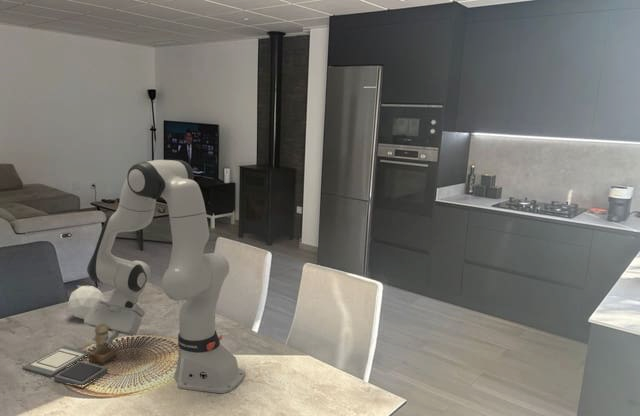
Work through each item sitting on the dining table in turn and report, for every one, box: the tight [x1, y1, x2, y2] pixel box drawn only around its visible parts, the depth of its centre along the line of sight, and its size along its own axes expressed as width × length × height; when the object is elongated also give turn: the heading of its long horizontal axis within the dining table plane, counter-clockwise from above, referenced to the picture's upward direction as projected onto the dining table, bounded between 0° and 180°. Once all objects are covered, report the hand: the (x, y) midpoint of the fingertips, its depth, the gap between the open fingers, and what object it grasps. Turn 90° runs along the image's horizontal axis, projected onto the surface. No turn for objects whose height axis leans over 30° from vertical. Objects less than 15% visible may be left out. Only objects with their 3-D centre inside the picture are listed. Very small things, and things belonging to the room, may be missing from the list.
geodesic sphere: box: [67, 284, 106, 320], centre depth 189 cm, size 14×14×14 cm
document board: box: [22, 345, 92, 378], centre depth 155 cm, size 12×16×1 cm
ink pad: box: [53, 360, 108, 386], centre depth 147 cm, size 11×10×2 cm
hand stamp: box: [88, 324, 118, 366], centre depth 157 cm, size 6×6×13 cm
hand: (100, 342), depth 156 cm, fingers closed on hand stamp, 4 cm apart
